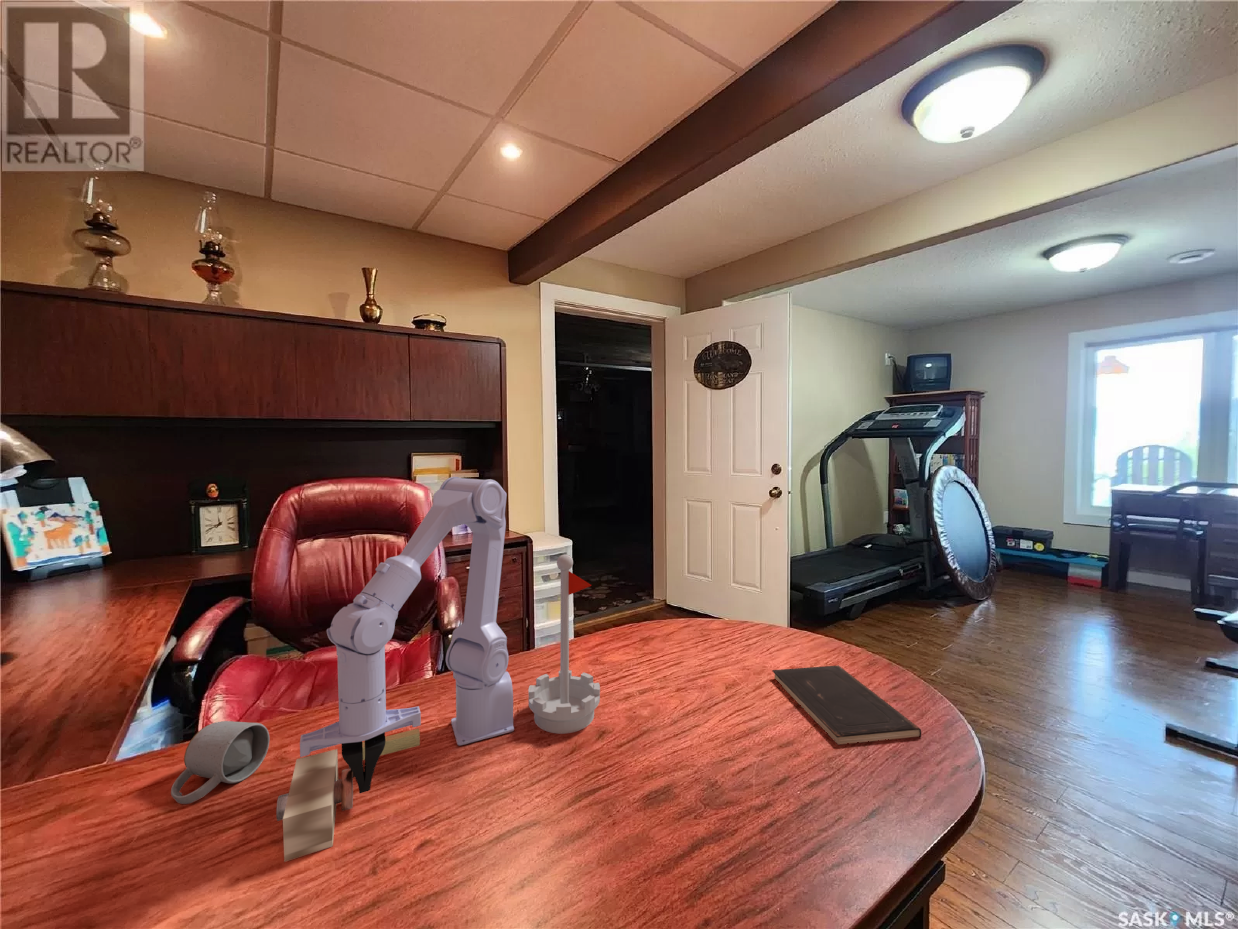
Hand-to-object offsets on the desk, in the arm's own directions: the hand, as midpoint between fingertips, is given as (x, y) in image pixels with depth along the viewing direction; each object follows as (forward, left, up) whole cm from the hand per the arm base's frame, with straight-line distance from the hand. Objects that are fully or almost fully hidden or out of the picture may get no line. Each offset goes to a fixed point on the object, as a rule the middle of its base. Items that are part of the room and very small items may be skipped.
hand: (364, 787), depth 67 cm
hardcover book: (-81, +12, -3) cm, 82 cm away
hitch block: (+6, 0, -2) cm, 6 cm away
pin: (+6, 0, -2) cm, 6 cm away
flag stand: (-33, -8, -3) cm, 34 cm away
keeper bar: (-3, -8, -2) cm, 8 cm away
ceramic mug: (+19, -15, -3) cm, 25 cm away
